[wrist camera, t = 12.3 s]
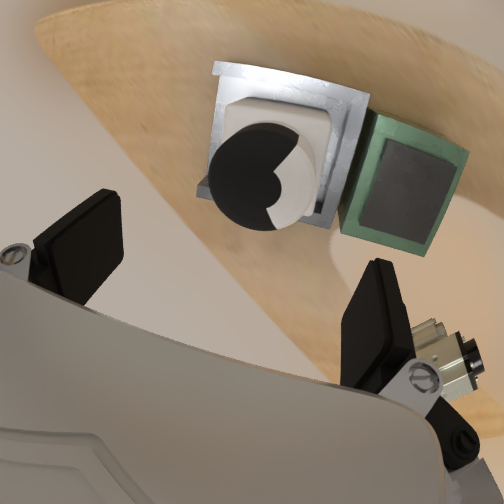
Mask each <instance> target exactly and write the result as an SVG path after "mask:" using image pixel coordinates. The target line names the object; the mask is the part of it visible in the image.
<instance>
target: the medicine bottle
mask: <svg viewBox="0 0 504 504" xmlns="http://www.w3.org/2000/svg"><path fill="white" fill-rule="evenodd" d="M331 130H332V122H331V120H330V117H329V114H328V112H327V111H326V110H325V109H320V108H315V107H310V106H305V105H300V104H294V103H289V102H283V101H277V100H270V99H263V98H256V97H246V98H243V99H240V100H238V101H235V102H233V103H230V104H228V105H226V107H225V112H224V122H223V133H222V143H221V146H220V147H219V148H218V149H217V151H216V152H215V154H214V156H213V158H212V160H211V163H210V166H209V171H208V183H209V189H210V193H211V195H212V198H213V200H214V201H215V203H216V205H217V206H218V208H219V209H220V210H221V211H222V212H223V213H224V214H225V216H227V217H228V218H229V219H230V220H232V221H233V222H235V223H237V224H239V225H241V226H243V227H246V228H249V229H252V230H258V231H272V230H278V229H281V228H285V227H287V226H289V225H291V224H293V223H294V222H296V221H297V220H298V219H300V218H301V217H302V216H311V215H312V214H313V212H314V208H315V203H316V199H317V195H318V190H319V186H320V181H321V177H322V172H323V168H324V163H325V159H326V154H327V149H328V144H329V140H330V135H331Z"/></svg>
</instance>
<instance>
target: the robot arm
mask: <svg viewBox="0 0 504 504" xmlns="http://www.w3.org/2000/svg"><path fill="white" fill-rule="evenodd" d="M121 221H122V220H121V200H120V197H119V196H118V194H117V192H116V191H112V190H108V189H101V190H99V191H98V192H96V193H95V194H93V195H92V196H90V197H89V198H88V199H86V200H85V201H84V202H82V203H81V204H79V205H78V206H77V207H75V208H74V209H72V210H71V211H70V212H68V213H67V214H66V215H64V216H63V217H62V218H60V219H59V220H58V221H56V222H55V223H54V224H53V225H51V226H50V227H49V228H47V229H46V230H45V231H44V232H43V233H41V234H40V235H39V236H37V237H36V238H35V239H34V240H33V243H34V247H35V248H34V249H33V250H32V251H31V248H30V247H29V245H27V244H23V243H16V244H13V245H10V246H8V247H6V248H4V249H3V250H2V251H1V252H0V504H504V500H503V497H502V494H501V492H500V490H499V488H498V486H497V484H496V482H495V480H494V478H493V476H492V474H491V472H490V470H489V468H488V466H487V464H486V462H485V461H484V459H483V458H481V459H480V460H479V458H478V453H479V450H480V442H479V438H478V435H477V433H476V432H475V430H474V429H473V428H472V427H471V426H470V425H469V424H468V423H467V422H466V421H465V420H464V419H463V418H462V417H461V415H460V414H459V413H458V412H457V411H456V410H455V409H454V408H453V407H452V406H451V405H450V404H449V403H448V402H447V401H446V400H445V399H444V398H443V397H442V396H441V395H440V394H441V392H442V390H443V378H442V375H441V373H440V372H439V370H438V369H437V368H436V367H435V366H434V365H433V364H432V363H430V362H429V361H427V360H424V359H420V358H417V357H416V352H415V347H414V342H413V337H412V332H411V328H410V324H409V319H408V315H407V310H406V306H405V304H404V303H403V301H402V297H401V293H400V289H399V285H398V281H397V278H396V274H395V270H394V267H393V263H392V262H391V261H387V260H384V259H380V258H376V259H375V260H374V261H371V260H370V261H369V263H368V265H367V267H366V269H365V271H364V274H363V276H362V278H361V280H360V282H359V284H358V286H357V288H356V290H355V292H354V294H353V296H352V299H351V301H350V303H349V305H348V307H347V309H346V311H345V312H344V315H343V317H342V321H341V378H340V385H337V384H332V383H327V382H323V381H318V380H313V379H310V378H306V377H301V376H297V375H293V374H289V373H285V372H280V371H277V370H273V369H268V368H265V367H261V366H257V365H253V364H250V363H246V362H243V361H239V360H236V359H232V358H229V357H225V356H222V355H219V354H215V353H212V352H209V351H206V350H202V349H199V348H196V347H193V346H189V345H186V344H184V343H181V342H178V341H174V340H172V339H169V338H166V337H163V336H160V335H157V334H154V333H152V332H149V331H146V330H143V329H141V328H138V327H135V326H133V325H130V324H127V323H125V322H122V321H120V320H117V319H114V318H112V317H109V316H107V315H104V314H102V313H100V312H97V311H94V310H92V309H90V308H87V307H85V306H84V305H85V304H86V303H87V301H88V300H89V299H90V298H91V297H92V295H93V294H94V293H95V292H96V291H97V289H98V288H99V287H100V286H101V285H102V283H103V282H104V281H105V280H106V279H107V277H108V276H109V275H110V274H111V273H112V272H113V271H114V270H115V269H116V267H117V266H118V265H119V264H120V263H121V261H122V260H123V256H124V250H123V237H122V222H121Z"/></svg>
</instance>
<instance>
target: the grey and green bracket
mask: <svg viewBox="0 0 504 504" xmlns="http://www.w3.org/2000/svg"><path fill="white" fill-rule="evenodd" d="M212 75H220V80H219V87H218V93H217V100H216V106H215V113H214V120H213V127H212V134H211V142H210V149H209V157H208V165H207V173H206V177H205V178H204V179H203V180H202V181H201V182H200V183H199V184H198V185H197V194H196V197H199V198H204V199H208V200H212V201H214V200H213V198H212V195H211V193H210V189H209V183H208V171H209V166H210V163H211V160H212V158H213V156H214V154H215V152H216V151H217V149H218V148H219V147H220V146H221V143H222V133H223V122H224V112H225V107H226V105H228V104H230V103H233V102H235V101H238V100H240V99H243V98H246V97H256V98H263V99H270V100H277V101H283V102H289V103H294V104H300V105H305V106H310V107H315V108H320V109H325V110H326V111H327V112H328V114H329V117H330V120H331V122H332V130H331V135H330V140H329V144H328V149H327V154H326V159H325V163H324V168H323V172H322V177H321V181H320V186H319V190H318V195H317V199H316V203H315V208H314V212H313V214H312V215H311V216H302V217H301V218H300V219H298V220H297V221H299V222H303V223H307V224H311V225H315V226H318V227H322V228H326V229H330V227H331V224H332V221H333V218H334V215H335V212H336V209H337V208H338V216H339V223H340V232H341V233H342V234H345V235H349V236H353V237H356V238H360V239H363V240H367V241H370V242H374V243H377V244H381V245H385V246H388V247H391V248H395V249H398V250H402V251H405V252H408V253H412V254H416V255H418V256H422V257H424V256H425V254H426V252H427V250H428V248H429V246H430V244H431V242H432V240H433V238H434V236H435V234H436V232H437V230H438V228H439V226H440V224H441V221H442V219H443V217H444V215H445V213H446V210H447V208H448V206H449V203H450V201H451V198H452V196H453V194H454V192H455V189H456V187H457V184H458V182H459V179H460V176H461V174H462V171H463V169H464V166H465V163H466V160H467V158H468V155H469V151H467V150H466V149H464V148H463V147H461V146H460V145H458V144H456V143H455V142H453V141H451V140H450V139H448V138H446V137H445V136H443V135H441V134H439V133H436V132H434V131H432V130H430V129H427V128H425V127H422V126H420V125H417V124H415V123H412V122H410V121H407V120H405V119H402V118H399V117H397V116H394V115H391V114H388V113H386V112H383V111H380V110H377V109H374V108H371V107H368V106H367V105H368V101H369V97H370V94H368V93H365V92H363V91H359V90H356V89H353V88H349V87H346V86H343V85H339V84H336V83H332V82H328V81H324V80H320V79H316V78H312V77H308V76H304V75H299V74H295V73H290V72H285V71H280V70H275V69H270V68H264V67H258V66H252V65H246V64H239V63H231V62H223V61H214V64H213V70H212Z"/></svg>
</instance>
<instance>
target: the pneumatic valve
mask: <svg viewBox="0 0 504 504" xmlns="http://www.w3.org/2000/svg"><path fill="white" fill-rule="evenodd" d="M435 323H436V320H435V318H434V319H432V318H431V319H429V320H428V321H426V322H424V323H422V324H420V325H418V326H416V327H413V328H412V330H411V332H412V335H413V336H412V337H413V342H414V347H415V352H416V357H417V358H420V359H424V360H427V361H429V362H430V363H432V364H433V365H434V366H435V367H436V368H437V369H438V370H439V372H440V373H441V375H442V378H443V390H442V392H441V394H440V395H441V396H442V397H443V398H444V399H445V400H446V401H447V402H450V401H453V400H455V399H457V398H459V397H462V396H464V395H466V394H468V393H470V392H472V391H474V390H476V389H478V388H477V384H476V382H477V381H478V377H475V376H476V375H478V374H480V373H482V372H484V371H485V370H484V366H483V362H482V359H481V356H480V353H479V350H478V347H477V344H476V342H475V339H474V338H473V339H471V340H470V341H467V342H465V343H463V341H465V338H464V336H463V337H461V335H460V332H459V331H458V332H456V333H454V334H452V335H450V336H447V333H446V330H445V327H444V325H443V323H442V322H440V323H438V324H436V325H435Z"/></svg>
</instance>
